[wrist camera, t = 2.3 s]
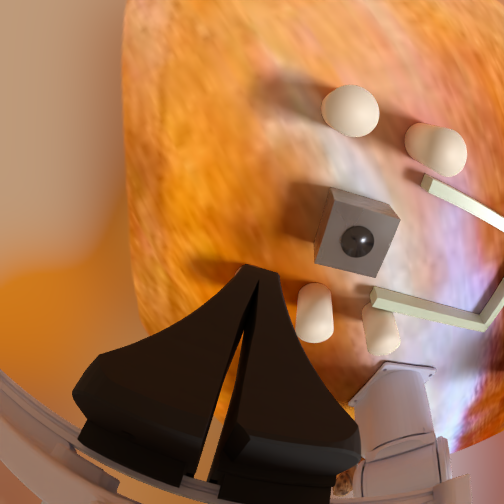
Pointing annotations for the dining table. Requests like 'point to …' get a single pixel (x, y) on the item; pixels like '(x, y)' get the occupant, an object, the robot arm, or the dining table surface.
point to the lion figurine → (344, 482)
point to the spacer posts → (420, 149)
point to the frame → (434, 310)
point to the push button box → (354, 233)
